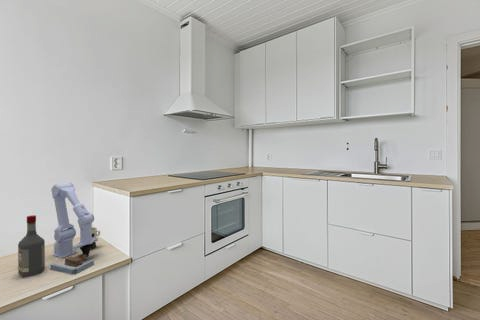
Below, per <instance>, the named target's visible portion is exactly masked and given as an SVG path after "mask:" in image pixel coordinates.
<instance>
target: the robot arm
mask: <svg viewBox="0 0 480 320" xmlns="http://www.w3.org/2000/svg"><path fill="white" fill-rule="evenodd" d="M75 191H76V187H75V185H74V184H73V183H72V182H69V183H68V182H65V183H60V184H54V185H53V186H52V188H51V195H52V199H53V201H54V205H55V206H54V207H55V212H56V218H57V223H58V225H57V227H56V228H55V229H54V230H53V231H54V235H53V238H54V240H55V242H54V245H53V254H52V256H53V257H58V258H64V259H65V258H67V257H70V256H71V255H74V254H76V253H77V250H78V249H80V251H81V252H82V253H81V254H86V259H87V258H88V257H89V255H90V251H91V250H92V249H91V248H92V246H93V244H92V242H98V241H99V238H98V237H95V238H92V227H93V222H94V221H95V217H94V214H93V213H91V212H90V211H88V209H87V208H86V206H85V204H83V203H81V202H80V200H79V198H78V196H77V194H76V192H75ZM66 198H67V200H68V201H69V202H70V204H71V205H72V206H73V207H72V210H73V212H74V214H75V216H77V218H78V219H77V224H78V227H79V235H80V237H79V239H80V241H79V242H78V243H76V244H75V245H74V244H73V242H74V241H73V240H74V239H75V237H76V235H77V230H76V228H75V226H74V224H72V223H70V219H69V215H68V209H67V203H66Z"/></svg>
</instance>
